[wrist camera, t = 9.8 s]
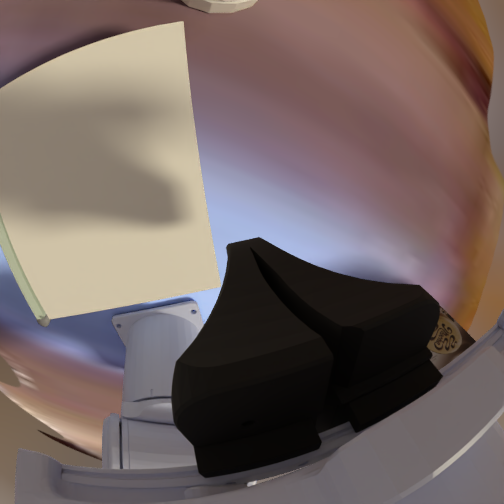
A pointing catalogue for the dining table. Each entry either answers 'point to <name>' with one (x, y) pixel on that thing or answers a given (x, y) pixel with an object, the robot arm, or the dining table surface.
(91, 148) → the cabinet
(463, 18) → the dining table surface
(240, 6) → the white cup
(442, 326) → the coffee box
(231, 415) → the robot arm
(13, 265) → the door
